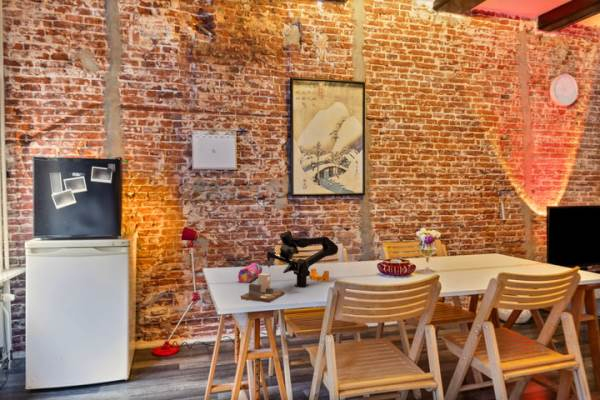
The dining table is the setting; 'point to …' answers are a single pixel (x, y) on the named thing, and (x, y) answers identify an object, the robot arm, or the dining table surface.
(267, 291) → the reading marker
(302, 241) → the robot arm
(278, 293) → the gauge base
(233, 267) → the dining table surface
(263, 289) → the block
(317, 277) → the pipe clamp
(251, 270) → the pencil case
